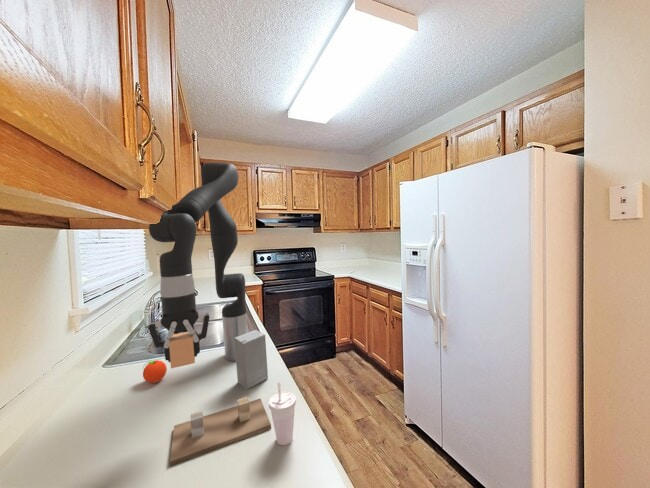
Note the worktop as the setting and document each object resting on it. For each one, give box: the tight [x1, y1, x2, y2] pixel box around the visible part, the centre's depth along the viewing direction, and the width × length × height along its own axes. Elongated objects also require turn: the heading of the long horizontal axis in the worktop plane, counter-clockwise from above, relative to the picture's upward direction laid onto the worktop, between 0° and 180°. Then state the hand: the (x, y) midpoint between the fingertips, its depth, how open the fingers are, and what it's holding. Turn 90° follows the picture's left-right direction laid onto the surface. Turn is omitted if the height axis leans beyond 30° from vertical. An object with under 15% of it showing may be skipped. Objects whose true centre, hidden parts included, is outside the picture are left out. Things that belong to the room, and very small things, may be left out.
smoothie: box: [268, 381, 297, 446], centre depth 63 cm, size 6×6×14 cm
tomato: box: [142, 359, 168, 384], centre depth 92 cm, size 8×7×7 cm
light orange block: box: [169, 332, 196, 369], centre depth 68 cm, size 5×5×7 cm
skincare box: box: [234, 329, 269, 390], centre depth 88 cm, size 8×7×16 cm
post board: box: [169, 396, 272, 467], centre depth 68 cm, size 12×22×6 cm, turn 116°
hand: (183, 357), depth 69 cm, fingers closed on light orange block, 5 cm apart
